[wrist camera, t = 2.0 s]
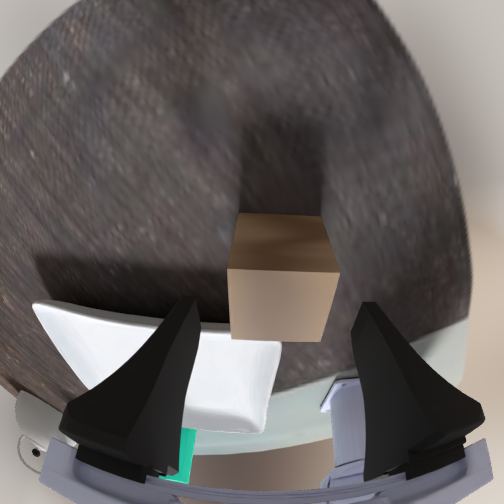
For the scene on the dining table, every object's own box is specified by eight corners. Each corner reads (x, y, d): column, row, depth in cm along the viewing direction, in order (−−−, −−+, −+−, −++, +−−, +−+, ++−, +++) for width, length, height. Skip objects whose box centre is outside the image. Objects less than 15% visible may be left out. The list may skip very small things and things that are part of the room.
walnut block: (320, 215, 15) (340, 273, 11) (310, 279, 17) (320, 341, 13) (238, 212, 15) (226, 268, 11) (239, 276, 17) (231, 339, 13)
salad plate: (283, 300, 19) (285, 339, 16) (264, 413, 31) (263, 436, 28) (43, 277, 19) (24, 302, 16) (114, 391, 31) (107, 411, 29)
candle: (152, 409, 33) (136, 481, 23) (191, 414, 32) (178, 491, 22) (167, 424, 36) (154, 487, 26) (202, 428, 35) (193, 495, 25)
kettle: (61, 408, 45) (38, 480, 27) (101, 438, 58) (86, 497, 39) (8, 381, 47) (-16, 438, 28) (47, 416, 59) (30, 465, 41)
